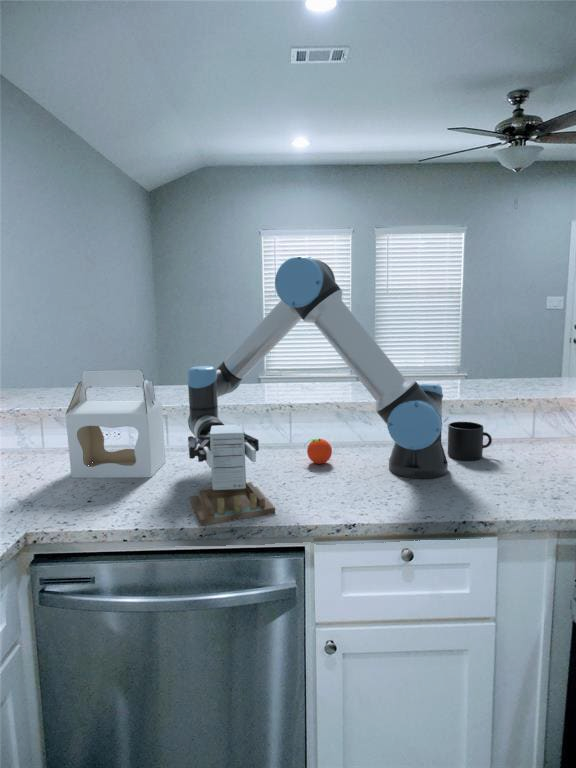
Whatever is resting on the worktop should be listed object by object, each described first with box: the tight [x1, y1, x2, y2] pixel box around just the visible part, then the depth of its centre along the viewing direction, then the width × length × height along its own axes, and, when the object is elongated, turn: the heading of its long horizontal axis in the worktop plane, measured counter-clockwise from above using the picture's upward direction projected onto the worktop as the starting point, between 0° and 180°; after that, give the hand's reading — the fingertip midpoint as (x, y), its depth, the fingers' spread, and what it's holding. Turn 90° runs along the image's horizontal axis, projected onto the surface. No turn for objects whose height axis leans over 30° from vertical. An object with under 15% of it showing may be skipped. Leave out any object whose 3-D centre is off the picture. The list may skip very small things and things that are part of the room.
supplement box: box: [210, 424, 247, 490], centre depth 112 cm, size 7×7×13 cm
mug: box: [447, 421, 493, 462], centre depth 145 cm, size 9×12×9 cm
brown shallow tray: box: [189, 481, 276, 526], centre depth 113 cm, size 16×14×5 cm
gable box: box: [65, 369, 166, 479], centre depth 139 cm, size 22×13×28 cm, turn 87°
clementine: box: [304, 438, 333, 465], centre depth 142 cm, size 8×7×7 cm
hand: (232, 458), depth 107 cm, fingers closed on supplement box, 8 cm apart
